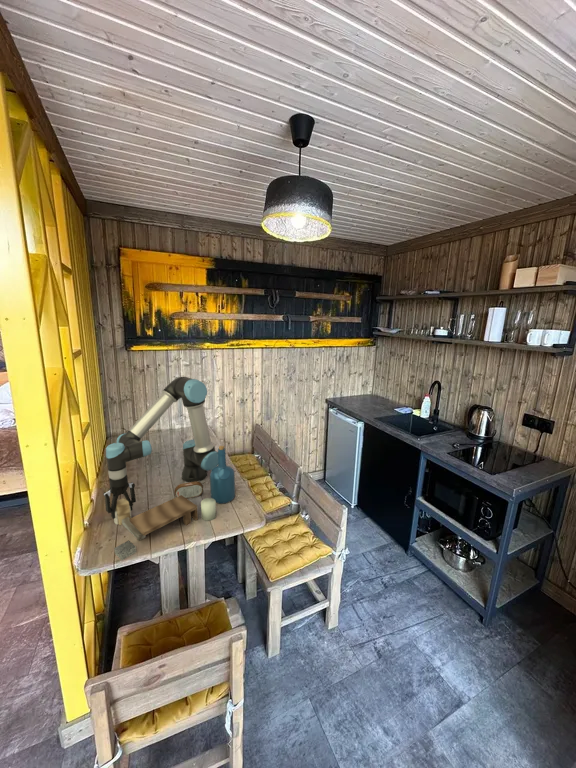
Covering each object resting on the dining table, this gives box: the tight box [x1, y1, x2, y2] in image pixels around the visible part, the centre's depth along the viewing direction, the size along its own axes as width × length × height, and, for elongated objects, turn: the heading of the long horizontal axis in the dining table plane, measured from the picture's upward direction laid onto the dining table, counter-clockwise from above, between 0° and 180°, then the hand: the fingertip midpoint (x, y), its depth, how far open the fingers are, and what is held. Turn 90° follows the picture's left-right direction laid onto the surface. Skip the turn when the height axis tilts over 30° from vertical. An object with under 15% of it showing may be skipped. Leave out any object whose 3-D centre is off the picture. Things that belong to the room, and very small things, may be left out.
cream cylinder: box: [200, 497, 217, 522], centre depth 157 cm, size 7×7×8 cm
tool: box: [115, 497, 147, 541], centre depth 147 cm, size 5×22×10 cm, turn 50°
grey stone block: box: [113, 540, 137, 561], centre depth 133 cm, size 6×6×3 cm
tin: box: [173, 481, 204, 499], centre depth 173 cm, size 15×3×8 cm, turn 111°
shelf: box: [129, 495, 199, 536], centre depth 149 cm, size 26×14×8 cm, turn 139°
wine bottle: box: [209, 445, 236, 505], centre depth 170 cm, size 14×13×30 cm
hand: (123, 520), depth 154 cm, fingers open, 5 cm apart
